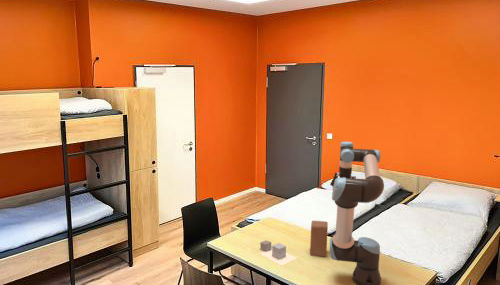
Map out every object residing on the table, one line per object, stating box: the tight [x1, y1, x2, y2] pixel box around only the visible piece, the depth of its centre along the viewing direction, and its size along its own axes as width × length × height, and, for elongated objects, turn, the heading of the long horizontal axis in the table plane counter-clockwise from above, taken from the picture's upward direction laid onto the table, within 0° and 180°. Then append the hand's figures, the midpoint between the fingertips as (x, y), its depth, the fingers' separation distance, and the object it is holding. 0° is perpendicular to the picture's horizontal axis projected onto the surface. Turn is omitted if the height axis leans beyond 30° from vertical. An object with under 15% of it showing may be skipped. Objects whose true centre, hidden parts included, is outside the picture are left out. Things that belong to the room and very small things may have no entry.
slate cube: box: [271, 242, 287, 260], centre depth 238 cm, size 6×6×7 cm
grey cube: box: [259, 240, 272, 252], centre depth 247 cm, size 5×5×5 cm
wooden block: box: [309, 220, 329, 258], centre depth 242 cm, size 10×10×20 cm
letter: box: [258, 250, 298, 266], centre depth 239 cm, size 20×14×1 cm
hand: (343, 199), depth 240 cm, fingers open, 13 cm apart
